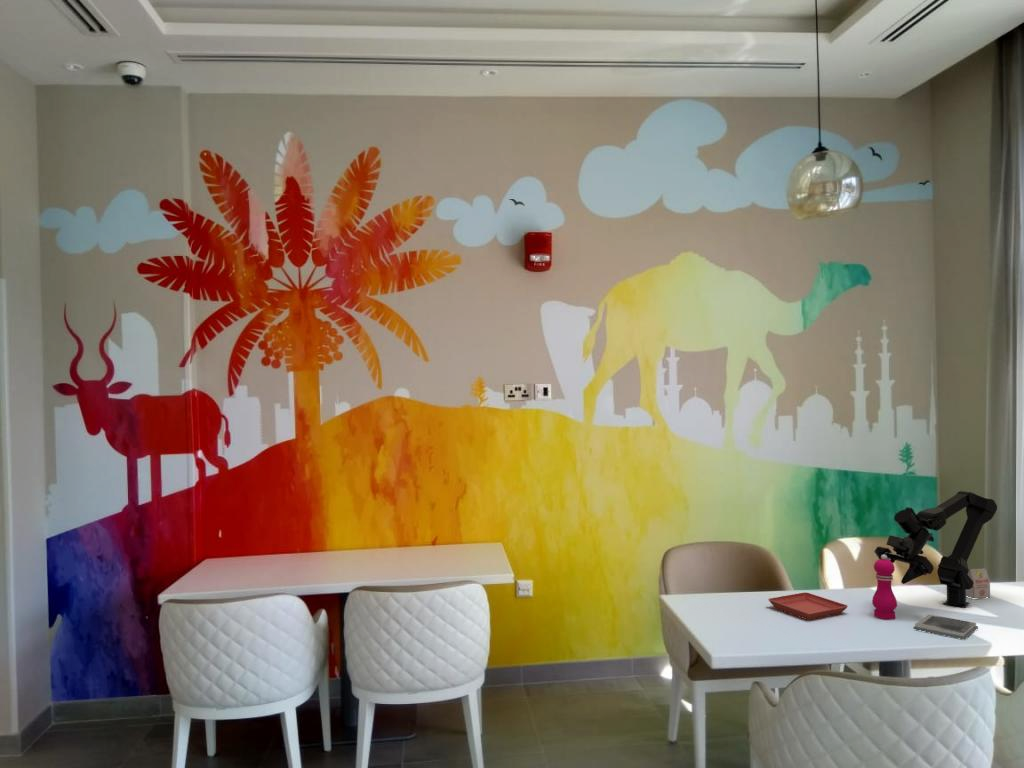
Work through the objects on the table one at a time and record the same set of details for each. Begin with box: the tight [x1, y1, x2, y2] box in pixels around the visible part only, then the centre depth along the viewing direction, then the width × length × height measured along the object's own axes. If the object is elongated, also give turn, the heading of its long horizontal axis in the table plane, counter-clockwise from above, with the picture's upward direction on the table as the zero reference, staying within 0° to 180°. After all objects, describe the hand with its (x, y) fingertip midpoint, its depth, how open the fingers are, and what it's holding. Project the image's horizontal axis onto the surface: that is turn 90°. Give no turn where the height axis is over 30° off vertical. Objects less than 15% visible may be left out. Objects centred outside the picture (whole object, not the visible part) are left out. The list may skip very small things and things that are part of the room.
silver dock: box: [912, 614, 979, 640], centre depth 236 cm, size 14×14×2 cm
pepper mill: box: [871, 555, 898, 620], centre depth 250 cm, size 7×7×20 cm
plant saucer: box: [767, 591, 849, 620], centre depth 257 cm, size 18×18×3 cm
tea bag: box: [966, 567, 991, 598], centre depth 270 cm, size 4×7×10 cm, turn 101°
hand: (890, 579), depth 251 cm, fingers open, 9 cm apart
